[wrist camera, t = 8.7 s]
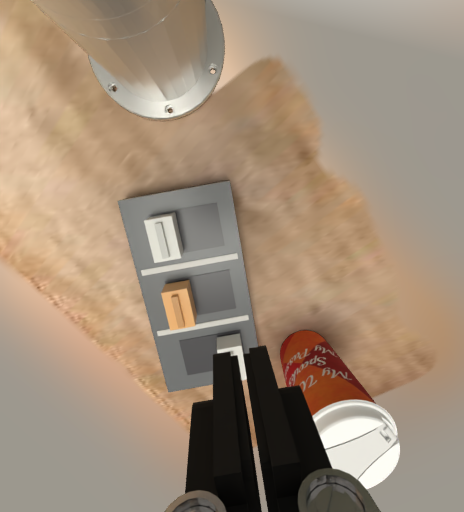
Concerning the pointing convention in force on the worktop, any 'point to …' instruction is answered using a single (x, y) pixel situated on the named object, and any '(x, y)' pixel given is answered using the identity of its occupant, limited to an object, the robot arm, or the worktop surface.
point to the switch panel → (193, 278)
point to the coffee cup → (341, 409)
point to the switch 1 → (164, 237)
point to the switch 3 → (233, 350)
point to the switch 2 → (179, 305)
